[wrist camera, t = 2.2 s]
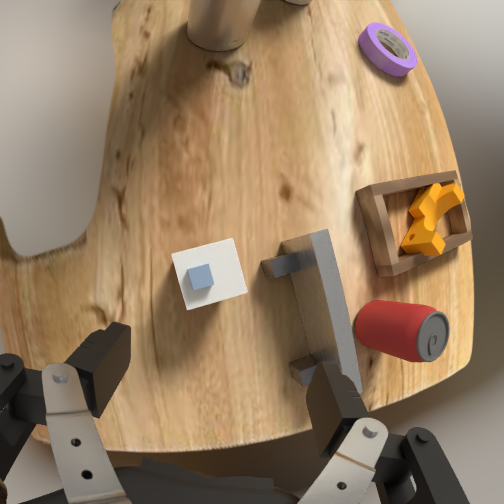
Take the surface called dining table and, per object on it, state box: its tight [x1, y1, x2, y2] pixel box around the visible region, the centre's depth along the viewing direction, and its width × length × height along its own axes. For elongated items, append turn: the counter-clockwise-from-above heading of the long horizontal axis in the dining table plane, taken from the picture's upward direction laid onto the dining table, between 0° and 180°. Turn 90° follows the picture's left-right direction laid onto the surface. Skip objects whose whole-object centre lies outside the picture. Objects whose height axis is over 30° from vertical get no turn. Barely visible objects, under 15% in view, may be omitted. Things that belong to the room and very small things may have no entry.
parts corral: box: [356, 170, 473, 276], centre depth 39 cm, size 12×21×4 cm, turn 106°
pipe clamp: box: [401, 183, 464, 256], centre depth 37 cm, size 12×4×6 cm, turn 140°
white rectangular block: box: [171, 238, 248, 310], centre depth 27 cm, size 5×5×11 cm
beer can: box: [355, 300, 449, 362], centre depth 32 cm, size 7×7×12 cm
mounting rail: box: [261, 229, 363, 394], centre depth 31 cm, size 18×8×8 cm, turn 16°
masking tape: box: [359, 23, 417, 77], centre depth 41 cm, size 12×12×4 cm
